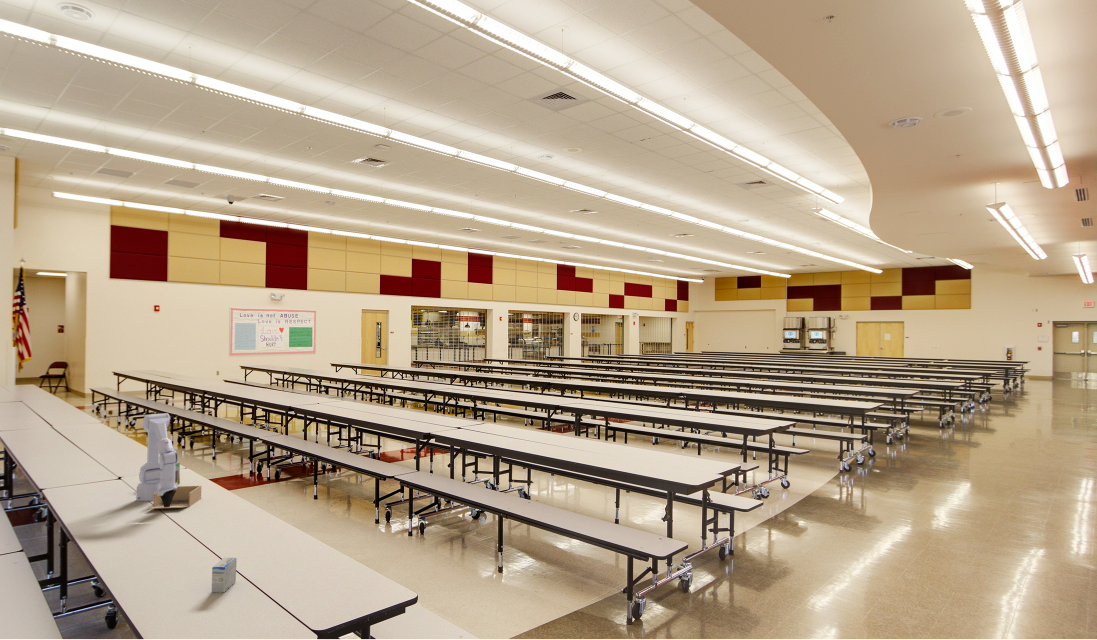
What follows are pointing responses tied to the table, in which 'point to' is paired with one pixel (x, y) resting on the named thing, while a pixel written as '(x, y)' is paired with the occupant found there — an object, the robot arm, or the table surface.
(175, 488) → the robot arm
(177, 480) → the chalk box
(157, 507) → the flap
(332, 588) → the table surface
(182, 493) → the carton
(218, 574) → the medicine box
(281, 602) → the table surface
